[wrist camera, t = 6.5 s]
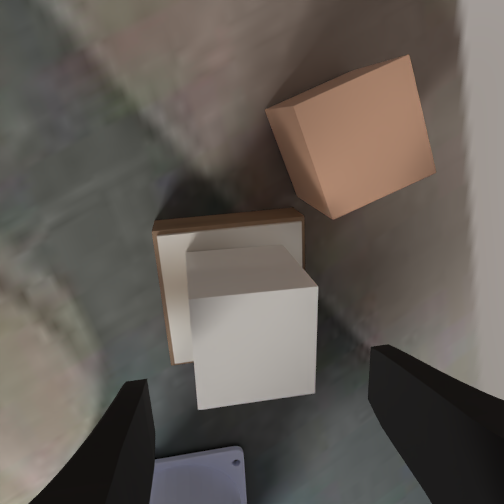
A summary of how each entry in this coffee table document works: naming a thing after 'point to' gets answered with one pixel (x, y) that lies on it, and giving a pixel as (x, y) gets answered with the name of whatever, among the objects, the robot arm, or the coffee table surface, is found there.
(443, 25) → the coffee table surface
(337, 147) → the terracotta block
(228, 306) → the stone block
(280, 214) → the plinth
